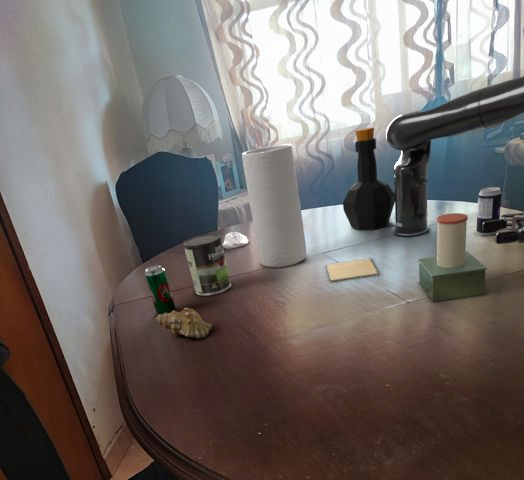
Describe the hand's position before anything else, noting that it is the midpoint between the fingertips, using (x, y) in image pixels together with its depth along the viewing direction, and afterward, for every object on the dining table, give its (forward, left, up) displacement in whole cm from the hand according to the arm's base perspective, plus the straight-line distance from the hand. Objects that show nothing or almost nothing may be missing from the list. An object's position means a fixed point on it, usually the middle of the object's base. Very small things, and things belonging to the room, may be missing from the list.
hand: (489, 232), depth 96 cm
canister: (0, -8, -6) cm, 9 cm away
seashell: (+4, -68, -12) cm, 69 cm away
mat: (-21, -27, -12) cm, 36 cm away
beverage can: (-34, +13, -12) cm, 39 cm away
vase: (-38, -45, -12) cm, 60 cm away
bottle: (-61, -15, -12) cm, 64 cm away
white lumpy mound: (-64, -62, -12) cm, 90 cm away
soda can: (-11, -76, -12) cm, 77 cm away
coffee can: (-23, -65, -12) cm, 70 cm away
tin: (0, -8, -12) cm, 14 cm away
